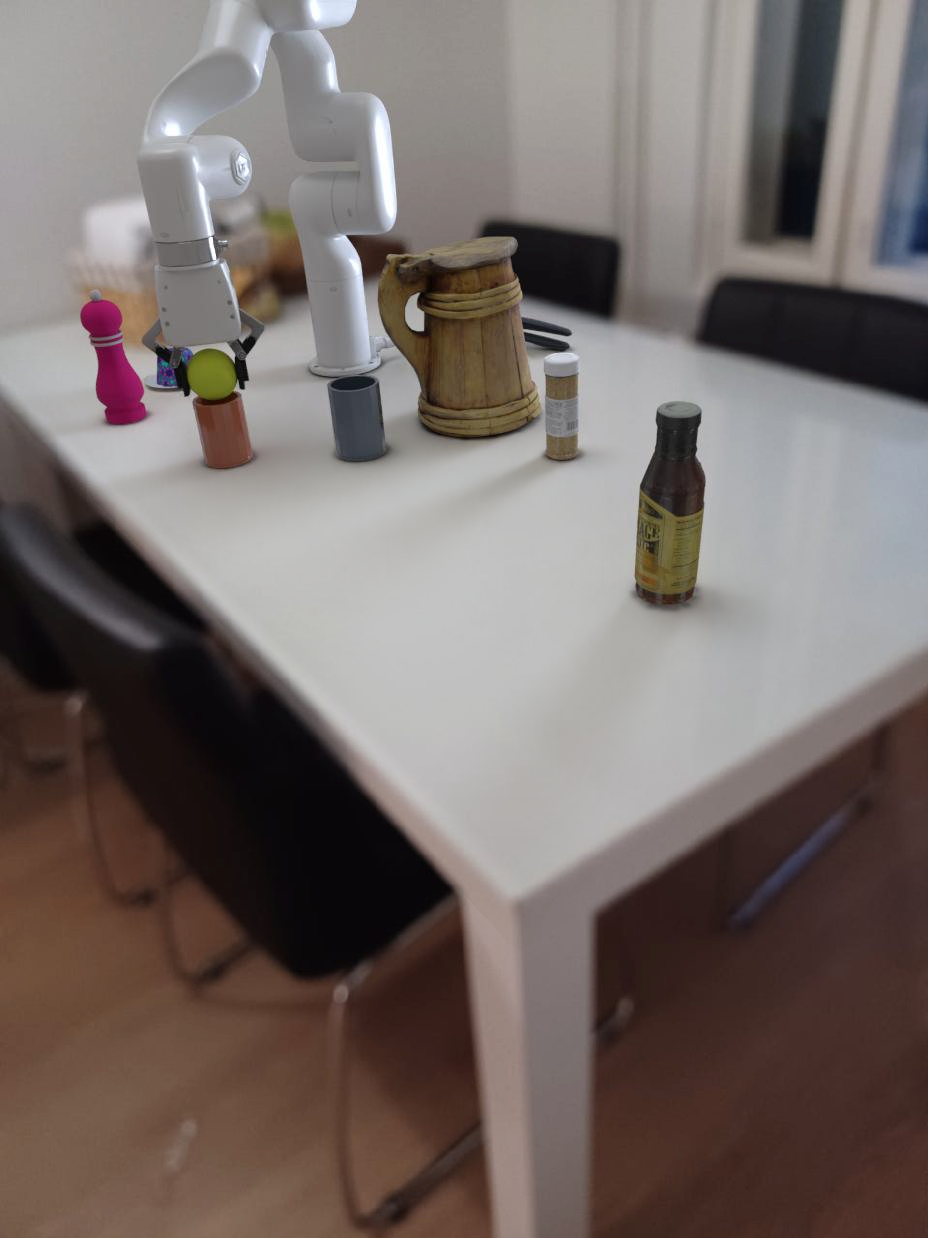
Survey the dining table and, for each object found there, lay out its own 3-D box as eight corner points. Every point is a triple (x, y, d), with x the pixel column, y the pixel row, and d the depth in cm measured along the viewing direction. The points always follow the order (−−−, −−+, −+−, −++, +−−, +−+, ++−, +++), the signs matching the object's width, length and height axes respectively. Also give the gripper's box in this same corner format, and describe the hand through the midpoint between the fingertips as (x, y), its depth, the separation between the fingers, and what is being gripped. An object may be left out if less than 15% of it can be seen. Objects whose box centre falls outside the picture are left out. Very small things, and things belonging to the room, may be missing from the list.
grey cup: (372, 438, 139) (364, 371, 134) (395, 453, 134) (387, 383, 129) (328, 450, 136) (318, 382, 131) (350, 465, 131) (341, 395, 126)
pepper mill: (136, 426, 149) (103, 295, 139) (95, 425, 151) (59, 295, 140) (158, 410, 155) (127, 283, 145) (117, 409, 157) (85, 284, 146)
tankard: (564, 419, 141) (563, 241, 128) (421, 457, 132) (404, 269, 119) (502, 388, 155) (496, 223, 141) (369, 419, 146) (349, 247, 133)
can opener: (475, 345, 176) (474, 314, 173) (494, 335, 181) (493, 305, 178) (562, 356, 167) (561, 323, 164) (579, 345, 172) (579, 313, 169)
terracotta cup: (242, 446, 139) (231, 386, 135) (259, 460, 135) (248, 398, 130) (199, 458, 137) (186, 397, 132) (215, 472, 132) (201, 409, 127)
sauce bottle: (627, 580, 100) (634, 397, 90) (686, 575, 100) (700, 391, 90) (642, 613, 95) (652, 421, 84) (704, 607, 95) (721, 415, 84)
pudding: (131, 389, 166) (123, 359, 163) (173, 368, 175) (167, 339, 172) (188, 394, 161) (181, 363, 159) (228, 372, 171) (222, 342, 168)
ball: (231, 387, 135) (222, 339, 131) (249, 399, 130) (240, 349, 126) (185, 398, 132) (174, 348, 128) (201, 411, 127) (190, 360, 123)
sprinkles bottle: (567, 445, 132) (567, 349, 125) (585, 456, 129) (586, 357, 122) (539, 452, 131) (537, 355, 124) (556, 463, 127) (555, 364, 120)
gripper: (255, 240, 125) (277, 374, 135) (119, 254, 123) (151, 389, 132) (257, 251, 119) (280, 390, 128) (113, 265, 116) (148, 407, 126)
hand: (214, 389), depth 130 cm, fingers closed on ball, 6 cm apart
